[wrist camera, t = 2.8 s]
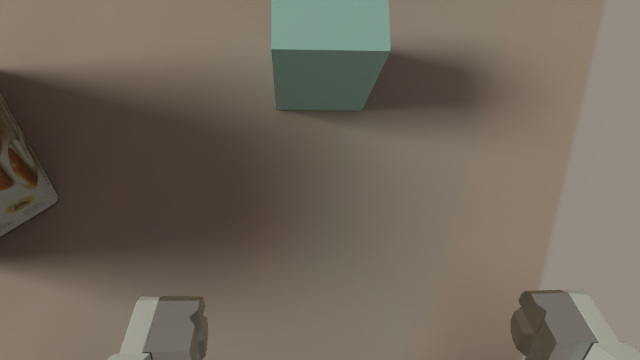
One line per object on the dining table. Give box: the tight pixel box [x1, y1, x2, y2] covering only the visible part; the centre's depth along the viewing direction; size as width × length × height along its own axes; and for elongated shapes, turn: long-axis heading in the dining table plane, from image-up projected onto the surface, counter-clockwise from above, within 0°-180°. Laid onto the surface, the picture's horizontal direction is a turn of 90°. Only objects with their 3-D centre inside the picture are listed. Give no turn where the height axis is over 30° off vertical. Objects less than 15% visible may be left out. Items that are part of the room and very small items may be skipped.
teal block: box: [271, 0, 391, 111], centre depth 24 cm, size 5×4×8 cm
